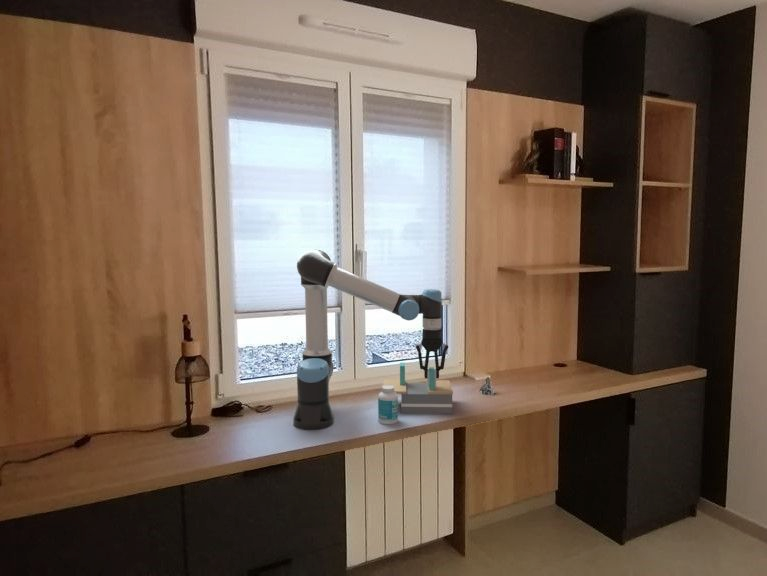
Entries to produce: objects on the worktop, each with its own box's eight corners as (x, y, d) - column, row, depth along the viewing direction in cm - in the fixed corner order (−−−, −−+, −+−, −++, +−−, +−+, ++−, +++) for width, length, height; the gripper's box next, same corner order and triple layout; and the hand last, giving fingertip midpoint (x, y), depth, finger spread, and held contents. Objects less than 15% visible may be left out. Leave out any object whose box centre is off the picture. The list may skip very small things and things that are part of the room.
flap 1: (381, 393, 200) (381, 371, 199) (383, 382, 216) (383, 361, 215) (406, 393, 200) (406, 371, 199) (406, 382, 216) (406, 361, 215)
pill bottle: (395, 426, 187) (395, 390, 186) (376, 424, 189) (376, 389, 188) (399, 419, 195) (399, 384, 193) (380, 417, 196) (380, 383, 195)
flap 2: (428, 394, 199) (428, 371, 198) (426, 382, 215) (426, 361, 214) (452, 394, 199) (453, 371, 198) (449, 382, 215) (449, 361, 214)
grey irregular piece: (468, 393, 227) (468, 377, 226) (481, 390, 232) (482, 373, 231) (484, 398, 220) (484, 381, 219) (497, 395, 225) (497, 378, 224)
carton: (401, 413, 200) (401, 394, 200) (401, 400, 216) (401, 382, 216) (452, 414, 200) (452, 394, 199) (448, 401, 216) (448, 382, 215)
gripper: (413, 330, 198) (412, 388, 200) (451, 330, 197) (451, 389, 199) (412, 326, 205) (412, 383, 208) (450, 326, 205) (449, 383, 207)
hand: (431, 386), depth 203 cm, fingers closed on flap 2, 2 cm apart
